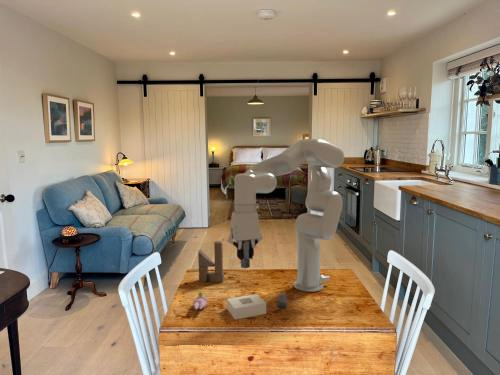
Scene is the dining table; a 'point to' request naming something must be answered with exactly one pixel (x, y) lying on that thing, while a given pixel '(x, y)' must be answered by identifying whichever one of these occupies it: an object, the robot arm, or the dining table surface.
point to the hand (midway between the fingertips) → (245, 258)
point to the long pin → (246, 254)
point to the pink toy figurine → (200, 301)
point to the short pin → (282, 301)
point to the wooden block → (211, 265)
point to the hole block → (246, 306)
